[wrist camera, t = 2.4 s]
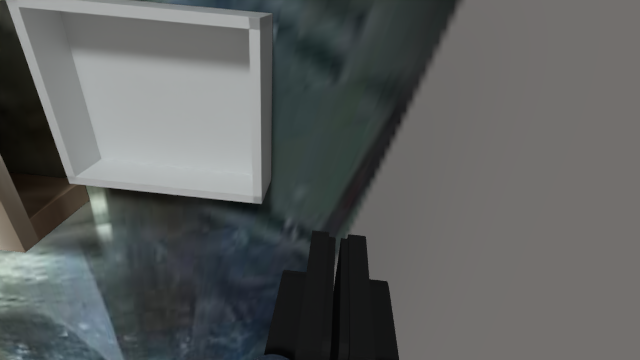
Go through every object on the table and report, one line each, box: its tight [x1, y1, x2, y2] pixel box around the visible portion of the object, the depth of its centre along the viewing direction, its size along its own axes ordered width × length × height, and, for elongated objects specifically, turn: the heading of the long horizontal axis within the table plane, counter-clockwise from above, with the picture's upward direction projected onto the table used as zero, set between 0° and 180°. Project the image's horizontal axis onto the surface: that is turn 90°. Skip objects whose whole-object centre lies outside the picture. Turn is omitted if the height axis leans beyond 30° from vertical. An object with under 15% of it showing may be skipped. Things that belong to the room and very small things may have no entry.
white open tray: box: [6, 0, 273, 204], centre depth 22 cm, size 14×12×4 cm
